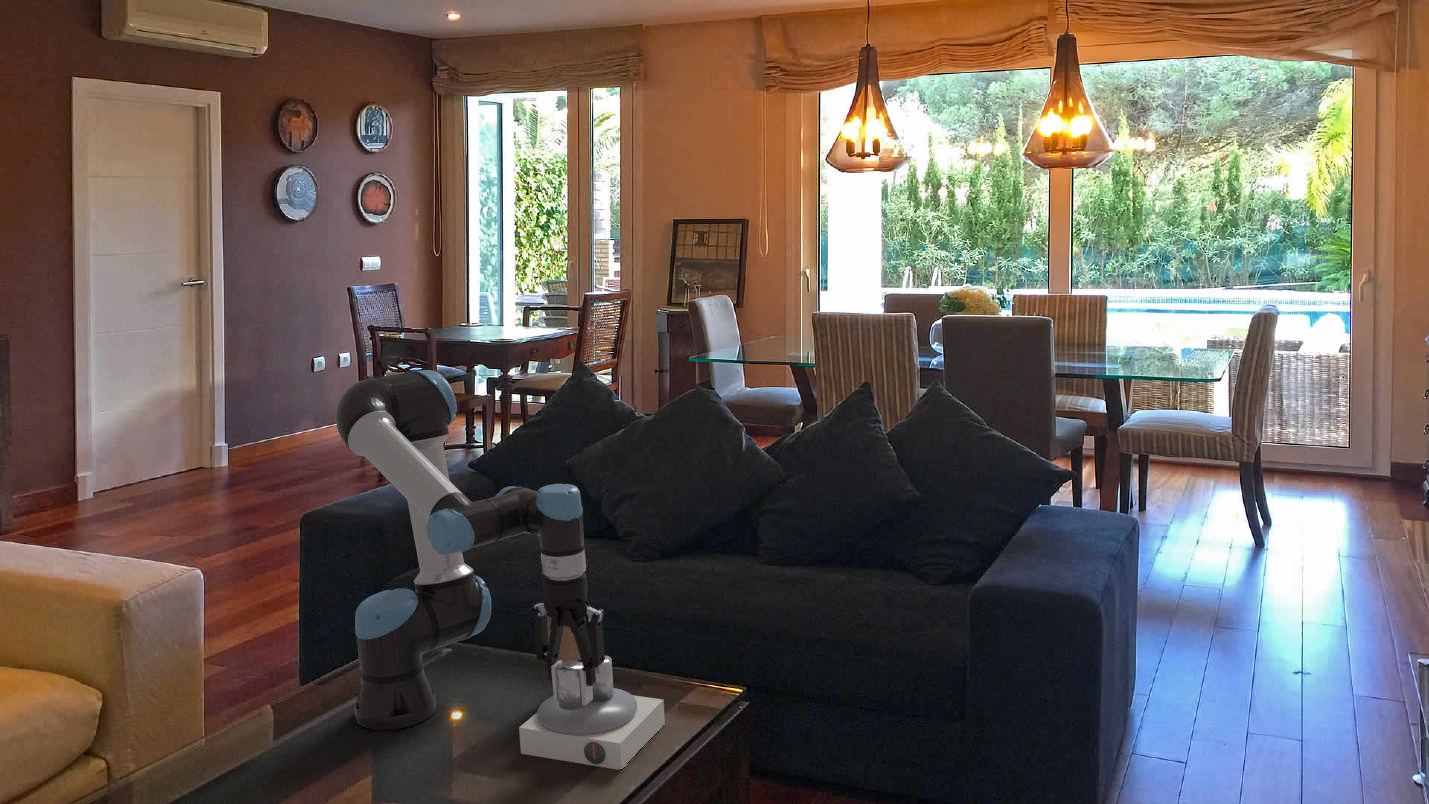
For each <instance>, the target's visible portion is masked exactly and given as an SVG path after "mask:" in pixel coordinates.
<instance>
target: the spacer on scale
mask: <svg viewBox="0 0 1429 804" xmlns="http://www.w3.org/2000/svg"><path fill="white" fill-rule="evenodd" d="M612 661H613V659H612V658H611V656H609V655H605V661H604V662H603V663H602V664H601V665H599V666H598V667H595V674H596V682H595V684H593V685H592V689H593V699H592V700H591V701H593V702H603V701H607V700H610V699H611V698H613V696H614V691H613V688H614V677H613V663H612Z"/></svg>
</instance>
